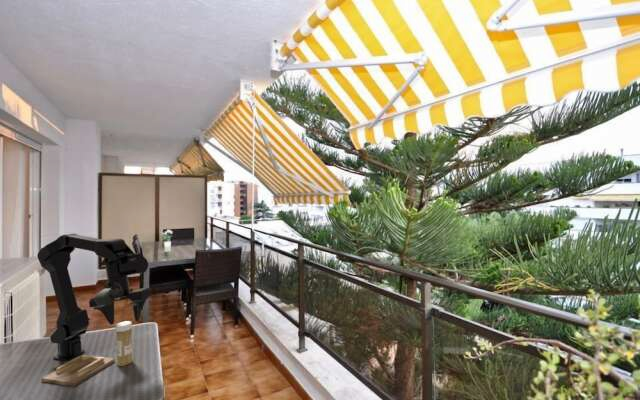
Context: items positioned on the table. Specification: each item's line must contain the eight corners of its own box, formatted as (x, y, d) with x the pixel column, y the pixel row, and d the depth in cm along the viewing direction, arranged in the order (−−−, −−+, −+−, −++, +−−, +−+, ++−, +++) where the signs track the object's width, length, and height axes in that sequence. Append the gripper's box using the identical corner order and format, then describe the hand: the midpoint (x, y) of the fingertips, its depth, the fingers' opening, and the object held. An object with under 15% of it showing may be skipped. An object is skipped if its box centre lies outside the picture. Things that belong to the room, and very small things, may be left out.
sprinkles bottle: (132, 363, 104) (132, 324, 103) (116, 368, 101) (115, 327, 101) (132, 357, 107) (131, 319, 107) (116, 361, 105) (115, 322, 105)
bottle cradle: (41, 381, 94) (41, 373, 94) (85, 357, 108) (85, 350, 108) (73, 386, 91) (73, 378, 91) (114, 361, 105) (114, 354, 105)
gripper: (71, 287, 97) (78, 336, 97) (126, 278, 95) (134, 329, 95) (99, 278, 108) (106, 322, 108) (149, 270, 106) (156, 315, 106)
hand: (124, 322), depth 104 cm, fingers open, 9 cm apart
